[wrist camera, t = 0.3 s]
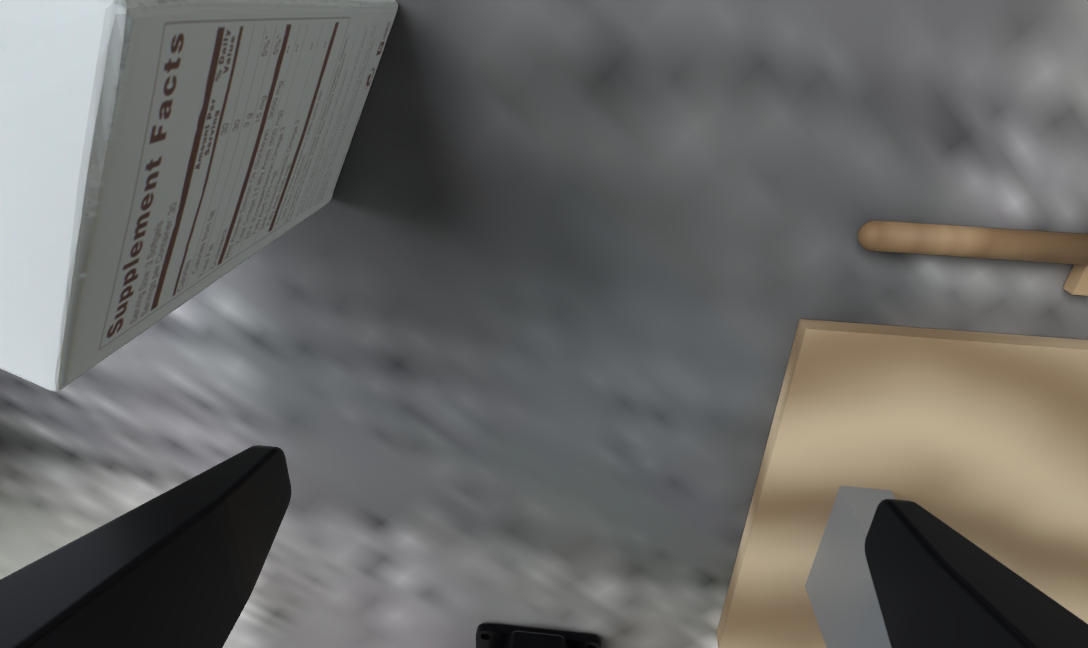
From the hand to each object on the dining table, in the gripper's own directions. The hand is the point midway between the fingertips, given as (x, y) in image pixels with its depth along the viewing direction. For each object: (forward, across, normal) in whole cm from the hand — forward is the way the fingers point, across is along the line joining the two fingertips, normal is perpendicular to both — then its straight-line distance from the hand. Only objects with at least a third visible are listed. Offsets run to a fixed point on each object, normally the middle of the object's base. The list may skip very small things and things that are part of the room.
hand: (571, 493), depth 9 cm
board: (+14, -16, +12) cm, 24 cm away
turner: (+14, -15, 0) cm, 20 cm away
